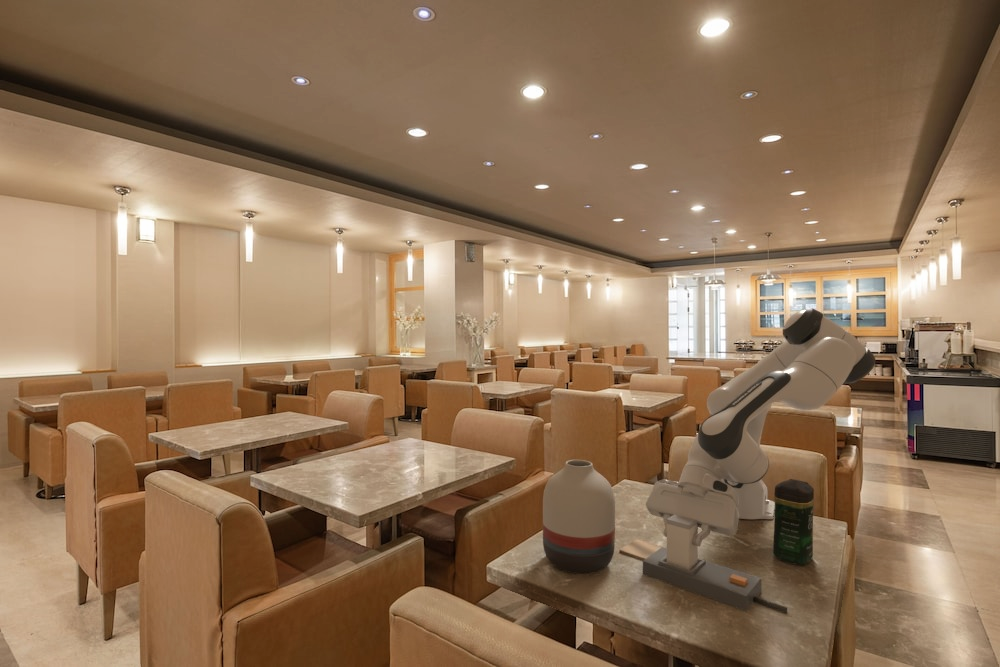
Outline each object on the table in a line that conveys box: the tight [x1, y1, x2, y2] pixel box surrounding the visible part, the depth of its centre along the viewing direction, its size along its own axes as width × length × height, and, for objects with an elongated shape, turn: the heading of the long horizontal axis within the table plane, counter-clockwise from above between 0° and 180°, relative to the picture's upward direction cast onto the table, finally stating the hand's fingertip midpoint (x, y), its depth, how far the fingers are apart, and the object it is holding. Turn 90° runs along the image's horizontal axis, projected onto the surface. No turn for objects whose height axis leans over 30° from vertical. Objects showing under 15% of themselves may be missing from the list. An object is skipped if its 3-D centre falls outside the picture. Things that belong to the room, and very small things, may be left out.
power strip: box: [642, 546, 789, 613], centre depth 108 cm, size 10×28×4 cm, turn 47°
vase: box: [542, 459, 616, 575], centre depth 120 cm, size 17×17×24 cm
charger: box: [666, 514, 699, 570], centre depth 113 cm, size 5×5×10 cm
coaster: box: [619, 538, 665, 561], centre depth 126 cm, size 9×9×1 cm
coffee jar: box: [772, 478, 815, 566], centre depth 123 cm, size 10×8×19 cm
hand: (681, 540), depth 113 cm, fingers closed on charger, 5 cm apart
